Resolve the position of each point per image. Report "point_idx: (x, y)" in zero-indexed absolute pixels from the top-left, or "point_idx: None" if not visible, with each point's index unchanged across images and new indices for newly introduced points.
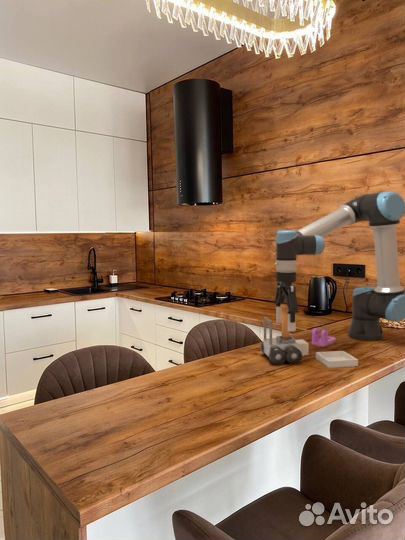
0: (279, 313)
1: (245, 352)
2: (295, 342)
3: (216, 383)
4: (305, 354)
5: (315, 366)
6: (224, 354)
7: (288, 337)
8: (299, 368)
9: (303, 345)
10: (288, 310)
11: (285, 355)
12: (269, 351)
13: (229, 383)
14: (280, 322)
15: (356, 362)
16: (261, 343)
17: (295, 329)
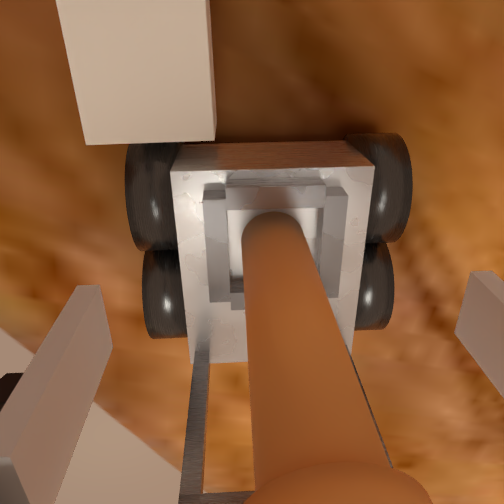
0: (71, 410)
1: (121, 358)
2: (337, 180)
3: (478, 479)
4: (210, 26)
5: (452, 52)
6: (152, 436)
7: (306, 242)
8: (448, 167)
9: (209, 47)
10: (387, 460)
11: (383, 246)
12: None
13: (495, 450)
14: (103, 317)
15: None
16: (158, 338)
17: (499, 279)
